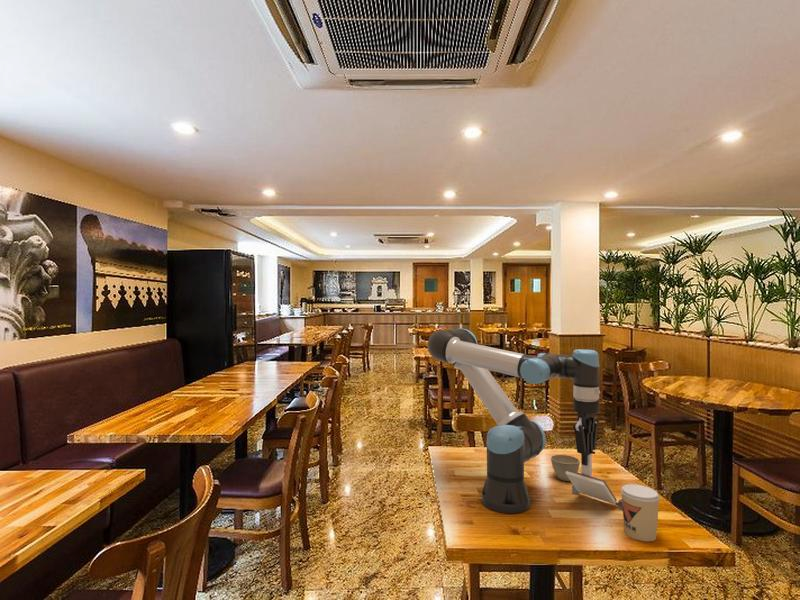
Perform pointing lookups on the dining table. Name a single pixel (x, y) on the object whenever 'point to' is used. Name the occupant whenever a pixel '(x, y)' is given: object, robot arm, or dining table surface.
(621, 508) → the hinge bracket
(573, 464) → the flower pot
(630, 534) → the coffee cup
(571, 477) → the tile
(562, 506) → the dining table surface
